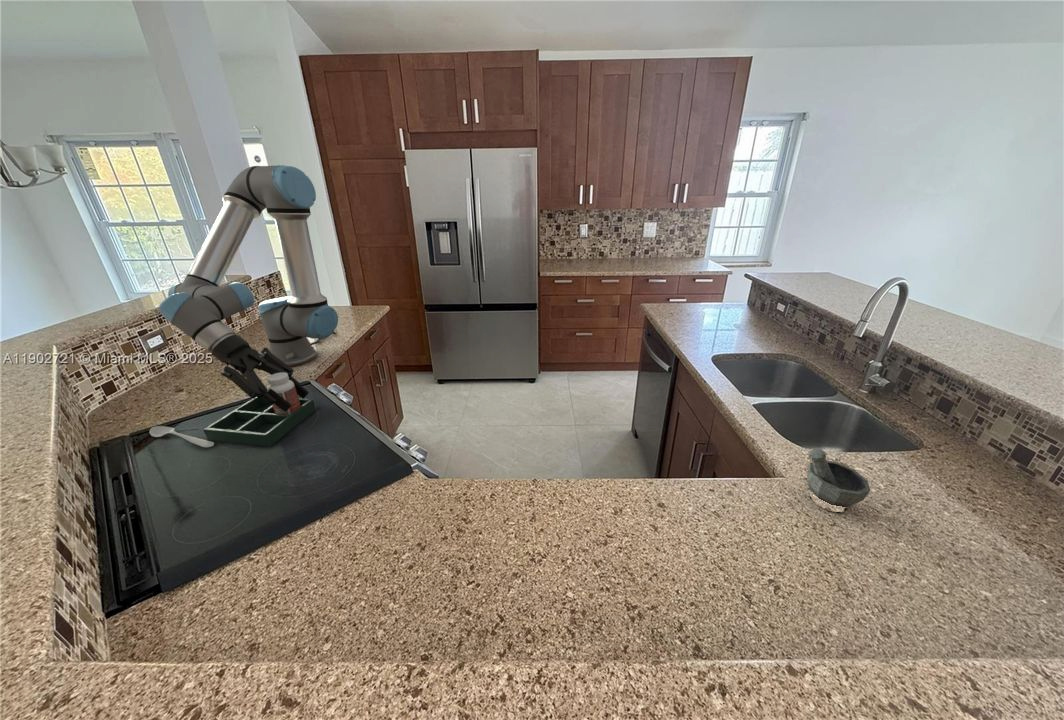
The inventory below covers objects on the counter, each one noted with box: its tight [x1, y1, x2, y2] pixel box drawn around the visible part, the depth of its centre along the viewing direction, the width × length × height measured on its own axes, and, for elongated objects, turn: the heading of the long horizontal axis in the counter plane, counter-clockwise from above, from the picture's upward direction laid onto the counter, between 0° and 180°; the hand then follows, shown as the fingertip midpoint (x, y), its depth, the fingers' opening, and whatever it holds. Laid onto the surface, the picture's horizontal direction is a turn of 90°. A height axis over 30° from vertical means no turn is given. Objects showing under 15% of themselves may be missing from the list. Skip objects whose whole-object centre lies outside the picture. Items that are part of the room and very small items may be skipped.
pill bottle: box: [266, 372, 301, 415], centre depth 101 cm, size 6×6×11 cm
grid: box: [202, 397, 317, 448], centre depth 100 cm, size 17×17×4 cm
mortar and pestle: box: [806, 448, 871, 508], centre depth 74 cm, size 11×9×12 cm
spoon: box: [149, 425, 215, 449], centre depth 94 cm, size 4×21×2 cm, turn 74°
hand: (297, 401), depth 101 cm, fingers closed on pill bottle, 6 cm apart
